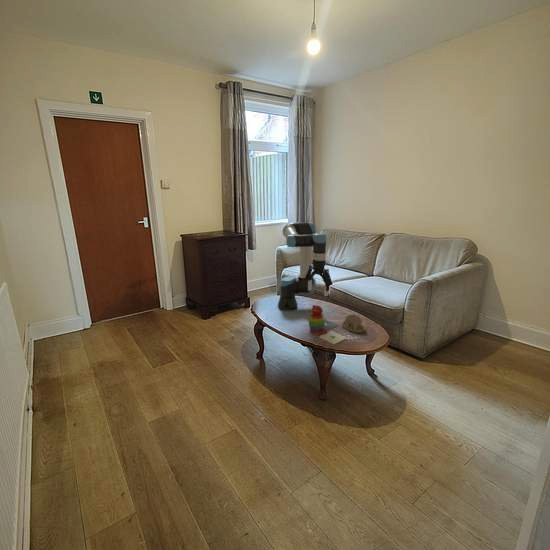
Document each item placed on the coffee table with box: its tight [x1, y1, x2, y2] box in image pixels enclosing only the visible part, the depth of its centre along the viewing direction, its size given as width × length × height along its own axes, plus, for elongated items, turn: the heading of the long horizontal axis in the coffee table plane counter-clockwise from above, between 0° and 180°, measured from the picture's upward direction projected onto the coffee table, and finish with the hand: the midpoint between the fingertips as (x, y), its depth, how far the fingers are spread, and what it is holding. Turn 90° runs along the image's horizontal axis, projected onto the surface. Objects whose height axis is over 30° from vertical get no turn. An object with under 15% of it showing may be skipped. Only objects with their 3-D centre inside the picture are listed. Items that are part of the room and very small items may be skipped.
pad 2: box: [318, 330, 348, 345], centre depth 193 cm, size 12×12×1 cm
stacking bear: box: [308, 304, 328, 336], centre depth 198 cm, size 11×10×18 cm
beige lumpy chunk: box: [341, 313, 364, 333], centre depth 205 cm, size 14×11×10 cm
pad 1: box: [323, 318, 339, 331], centre depth 211 cm, size 12×12×1 cm
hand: (317, 292), depth 193 cm, fingers open, 13 cm apart
